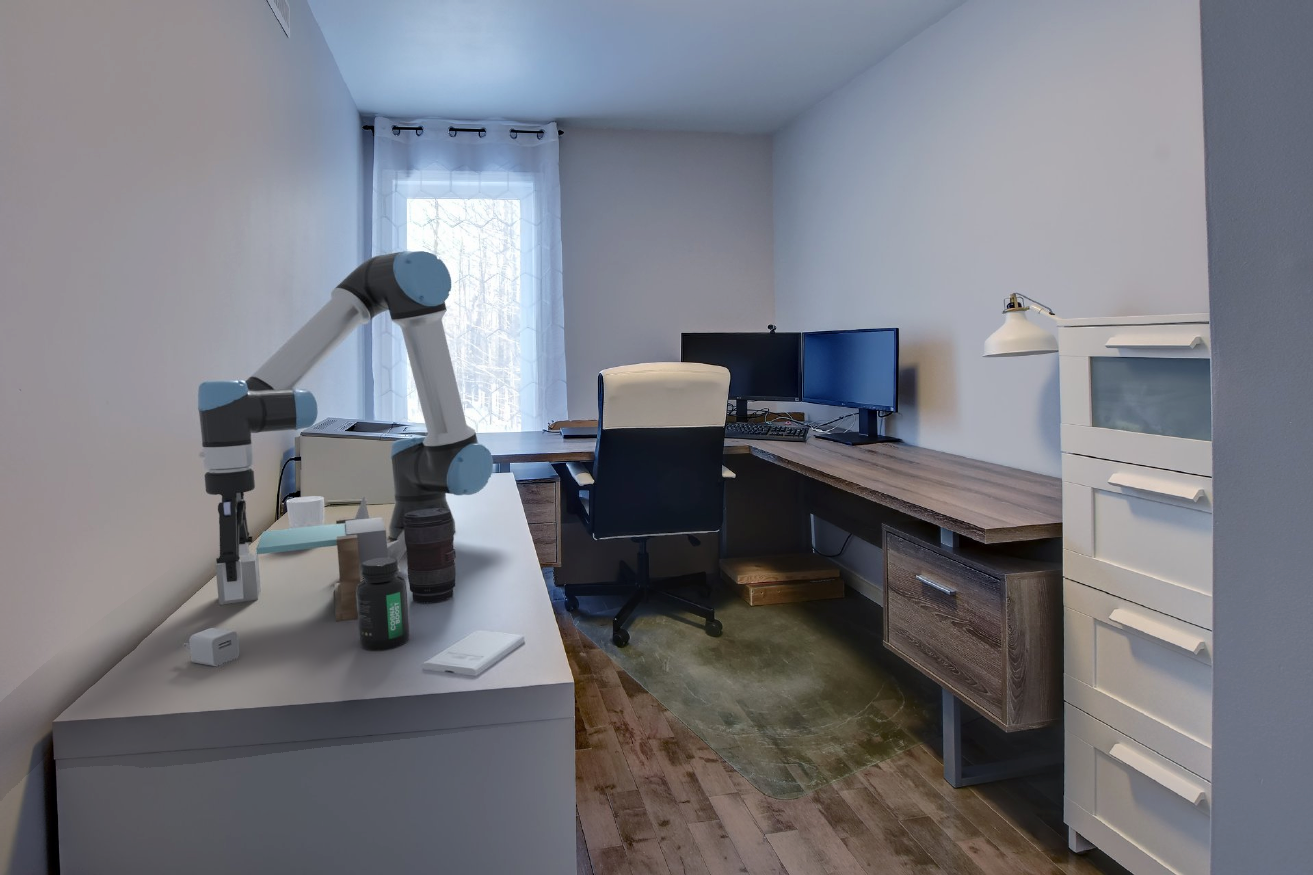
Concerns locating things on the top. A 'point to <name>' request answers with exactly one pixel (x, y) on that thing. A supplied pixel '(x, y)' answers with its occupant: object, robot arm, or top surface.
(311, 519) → the white cup
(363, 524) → the trapdoor
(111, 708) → the top surface
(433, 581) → the camera lens
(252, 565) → the plain grey cube
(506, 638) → the external hard drive
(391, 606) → the supplement bottle
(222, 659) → the usb wall charger
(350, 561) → the stand
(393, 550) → the crystal
